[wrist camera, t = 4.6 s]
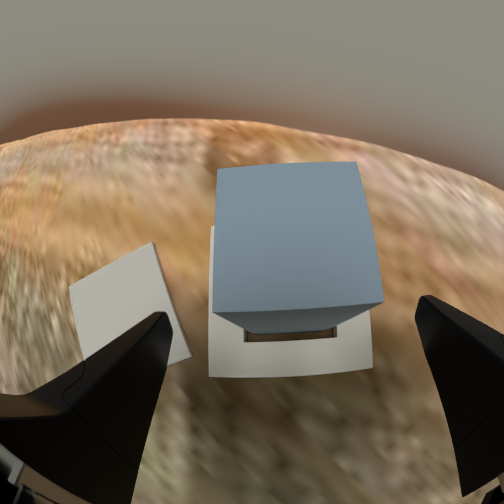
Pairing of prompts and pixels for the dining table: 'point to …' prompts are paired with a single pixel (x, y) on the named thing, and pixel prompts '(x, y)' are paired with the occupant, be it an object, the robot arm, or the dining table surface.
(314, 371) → the pocket holder
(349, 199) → the slate-blue block
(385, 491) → the dining table surface
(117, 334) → the grey mat
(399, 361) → the dining table surface
